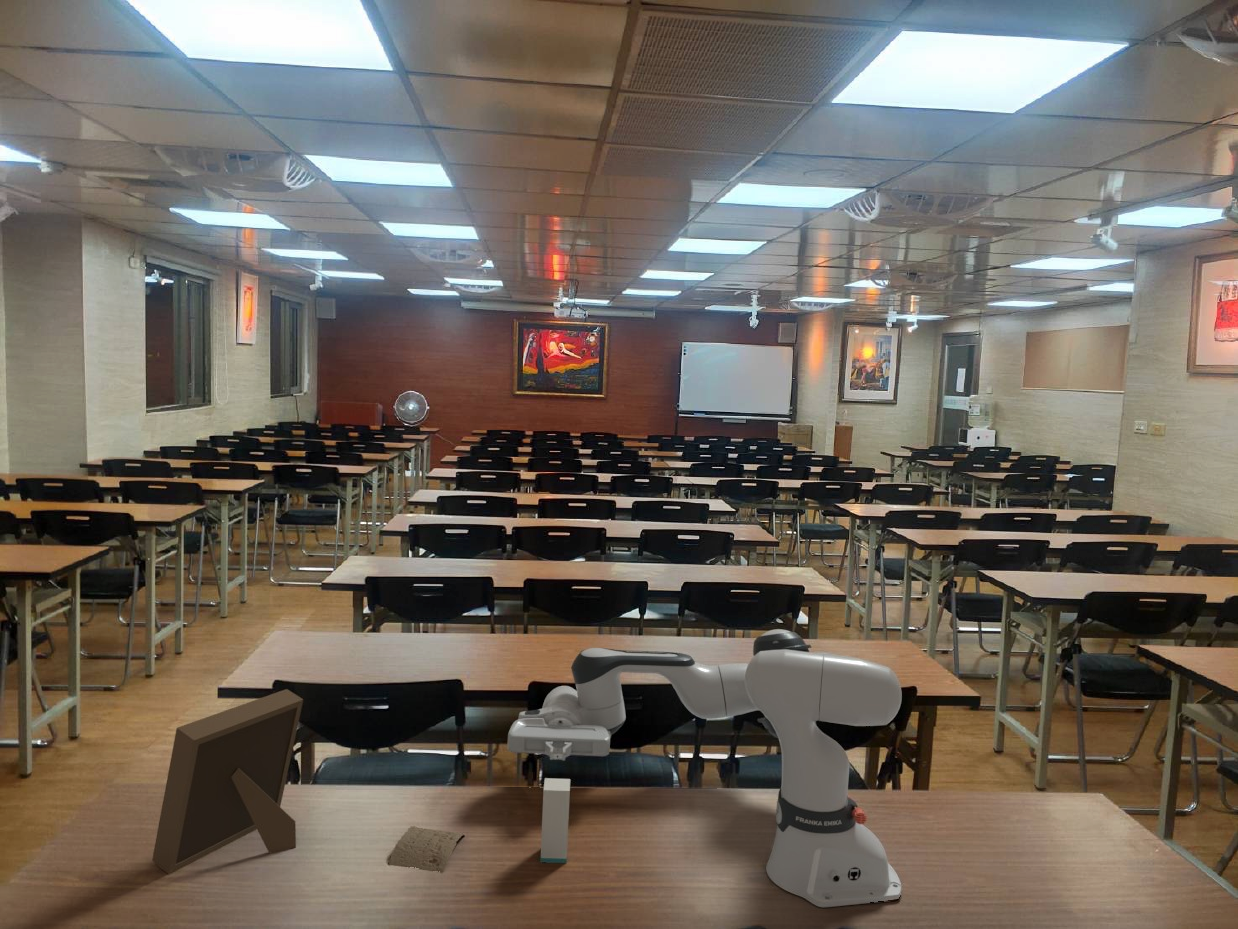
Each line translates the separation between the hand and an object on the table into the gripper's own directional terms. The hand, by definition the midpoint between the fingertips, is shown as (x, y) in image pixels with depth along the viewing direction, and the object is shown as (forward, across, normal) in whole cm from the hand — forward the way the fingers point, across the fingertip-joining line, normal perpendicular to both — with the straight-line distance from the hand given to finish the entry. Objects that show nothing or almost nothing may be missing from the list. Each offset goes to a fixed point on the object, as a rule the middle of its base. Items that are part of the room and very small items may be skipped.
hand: (557, 756), depth 164 cm
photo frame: (+15, +53, -12) cm, 57 cm away
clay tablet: (+13, +22, -13) cm, 28 cm away
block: (+14, 0, -12) cm, 18 cm away
